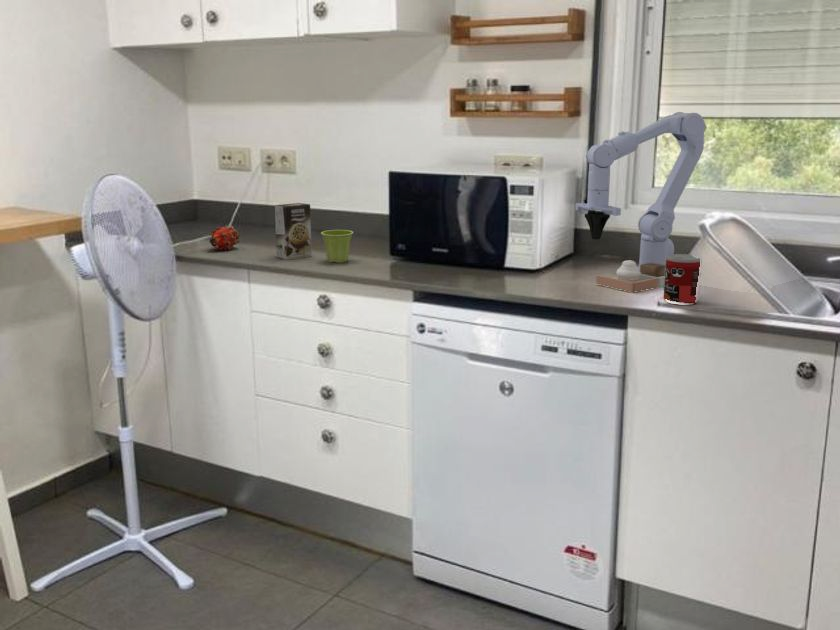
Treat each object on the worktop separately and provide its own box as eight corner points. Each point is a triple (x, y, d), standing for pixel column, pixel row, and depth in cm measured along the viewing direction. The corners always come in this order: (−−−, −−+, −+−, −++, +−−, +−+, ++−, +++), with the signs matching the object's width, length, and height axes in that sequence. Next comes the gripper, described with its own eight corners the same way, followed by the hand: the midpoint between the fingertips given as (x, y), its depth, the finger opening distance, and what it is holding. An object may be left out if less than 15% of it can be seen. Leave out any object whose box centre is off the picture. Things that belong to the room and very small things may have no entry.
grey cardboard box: (286, 260, 255) (284, 206, 251) (276, 257, 260) (273, 204, 256) (312, 256, 261) (310, 204, 257) (301, 253, 266) (299, 202, 262)
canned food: (658, 298, 207) (661, 254, 204) (690, 298, 207) (694, 253, 205) (669, 306, 199) (673, 260, 197) (702, 305, 200) (706, 259, 197)
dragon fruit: (241, 251, 278) (215, 263, 268) (223, 235, 279) (197, 245, 270) (249, 232, 273) (224, 243, 263) (231, 216, 274) (205, 226, 265)
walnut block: (650, 279, 229) (651, 262, 228) (663, 281, 225) (665, 265, 224) (639, 281, 226) (640, 264, 225) (653, 284, 223) (654, 267, 222)
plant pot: (358, 262, 252) (358, 233, 250) (329, 265, 248) (328, 235, 245) (346, 257, 260) (345, 228, 258) (317, 259, 256) (316, 231, 253)
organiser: (646, 274, 234) (646, 265, 233) (682, 282, 224) (683, 273, 224) (596, 284, 222) (596, 275, 221) (632, 293, 212) (633, 283, 212)
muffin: (635, 289, 216) (637, 262, 214) (612, 287, 219) (613, 260, 217) (642, 285, 221) (644, 258, 219) (620, 282, 224) (621, 256, 222)
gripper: (568, 188, 234) (566, 237, 238) (609, 193, 223) (606, 244, 227) (586, 186, 239) (583, 234, 242) (627, 191, 227) (624, 241, 231)
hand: (596, 239), depth 235 cm, fingers closed
